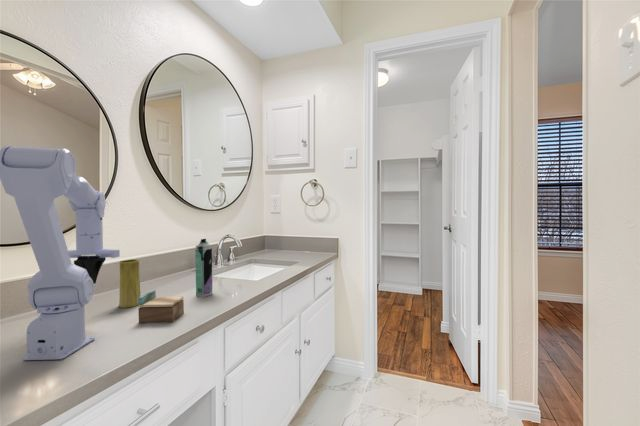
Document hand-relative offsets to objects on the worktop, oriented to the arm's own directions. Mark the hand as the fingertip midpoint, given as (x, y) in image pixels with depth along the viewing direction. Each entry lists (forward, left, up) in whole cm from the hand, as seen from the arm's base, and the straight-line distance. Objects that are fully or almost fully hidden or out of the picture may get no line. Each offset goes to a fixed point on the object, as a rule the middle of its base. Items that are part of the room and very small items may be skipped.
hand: (90, 284), depth 80 cm
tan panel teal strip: (+2, -18, -6) cm, 19 cm away
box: (+2, -18, -10) cm, 21 cm away
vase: (+14, -2, -11) cm, 18 cm away
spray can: (+24, -22, -11) cm, 34 cm away
